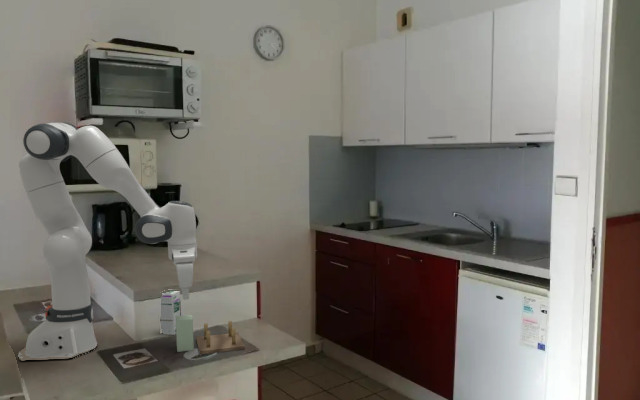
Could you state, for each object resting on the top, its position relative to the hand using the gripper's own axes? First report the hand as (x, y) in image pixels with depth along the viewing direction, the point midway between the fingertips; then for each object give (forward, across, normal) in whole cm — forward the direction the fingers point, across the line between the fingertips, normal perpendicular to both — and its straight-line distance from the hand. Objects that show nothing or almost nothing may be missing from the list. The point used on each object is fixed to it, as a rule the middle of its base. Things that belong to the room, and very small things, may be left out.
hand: (184, 295), depth 169 cm
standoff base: (+17, 0, +10) cm, 20 cm away
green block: (+17, 0, -1) cm, 17 cm away
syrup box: (+17, -18, -5) cm, 25 cm away
